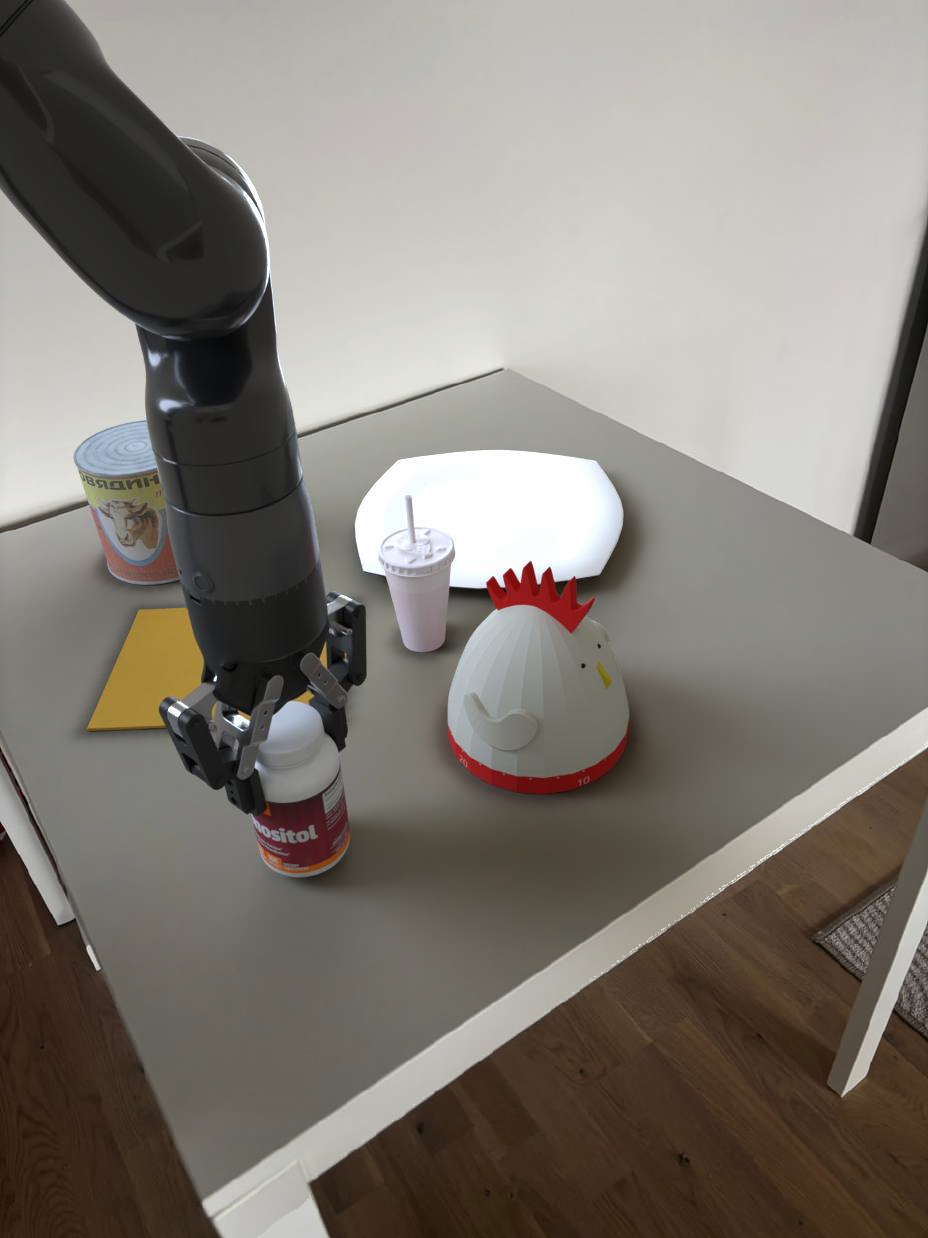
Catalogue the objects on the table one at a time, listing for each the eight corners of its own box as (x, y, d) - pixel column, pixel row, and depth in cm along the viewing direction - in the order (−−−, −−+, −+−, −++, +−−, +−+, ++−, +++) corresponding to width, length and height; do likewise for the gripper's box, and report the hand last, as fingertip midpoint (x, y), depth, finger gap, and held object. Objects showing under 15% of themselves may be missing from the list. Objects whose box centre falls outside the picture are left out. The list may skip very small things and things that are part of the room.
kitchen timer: (576, 820, 68) (582, 653, 59) (413, 752, 74) (396, 590, 65) (656, 703, 77) (671, 543, 68) (505, 651, 83) (501, 498, 74)
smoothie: (435, 608, 88) (425, 472, 80) (474, 643, 84) (468, 503, 76) (374, 634, 86) (357, 495, 77) (411, 672, 81) (397, 529, 73)
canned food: (90, 584, 94) (53, 474, 87) (131, 524, 103) (100, 419, 96) (202, 585, 93) (174, 474, 86) (234, 524, 102) (211, 419, 95)
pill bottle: (243, 869, 64) (212, 750, 58) (285, 802, 69) (260, 684, 62) (329, 891, 63) (307, 770, 56) (366, 821, 67) (349, 702, 61)
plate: (380, 464, 111) (379, 448, 110) (618, 465, 109) (619, 449, 107) (333, 601, 90) (331, 584, 89) (627, 607, 87) (629, 589, 86)
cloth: (87, 731, 77) (86, 728, 77) (139, 612, 90) (138, 609, 90) (337, 721, 77) (337, 718, 77) (354, 603, 90) (353, 600, 90)
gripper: (300, 483, 58) (332, 694, 68) (92, 593, 50) (164, 817, 60) (391, 521, 54) (411, 739, 64) (182, 648, 46) (243, 877, 56)
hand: (292, 775), depth 62 cm, fingers closed on pill bottle, 6 cm apart
